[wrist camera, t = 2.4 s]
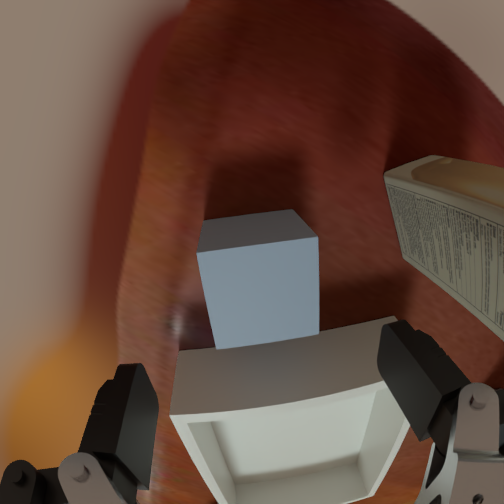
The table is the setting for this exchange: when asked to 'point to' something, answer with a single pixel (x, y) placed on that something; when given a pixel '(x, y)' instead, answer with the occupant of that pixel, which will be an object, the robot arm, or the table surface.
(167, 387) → the table surface
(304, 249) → the cube
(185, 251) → the table surface
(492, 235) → the skincare box
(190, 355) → the tote
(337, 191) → the table surface
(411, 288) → the table surface
